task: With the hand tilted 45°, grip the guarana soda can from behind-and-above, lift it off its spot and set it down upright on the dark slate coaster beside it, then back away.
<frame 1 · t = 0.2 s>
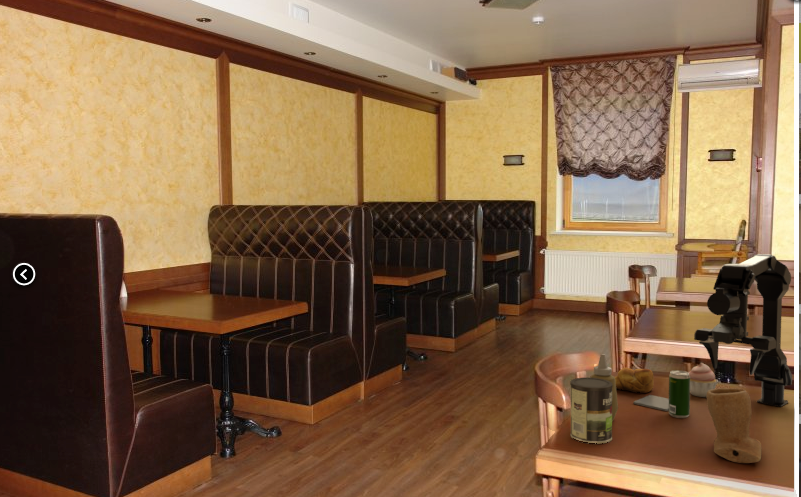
hand: (732, 371, 173), 14 cm above the table, tool pointing down, fingers open, 9 cm apart
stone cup: (732, 453, 155), on the table
cupcake: (701, 395, 201), on the table
coaster: (657, 403, 193), on the table
coffee can: (591, 437, 167), on the table
bread roll: (633, 390, 208), on the table
guarana soda can: (679, 416, 182), on the table
squeeze bottle: (602, 420, 180), on the table
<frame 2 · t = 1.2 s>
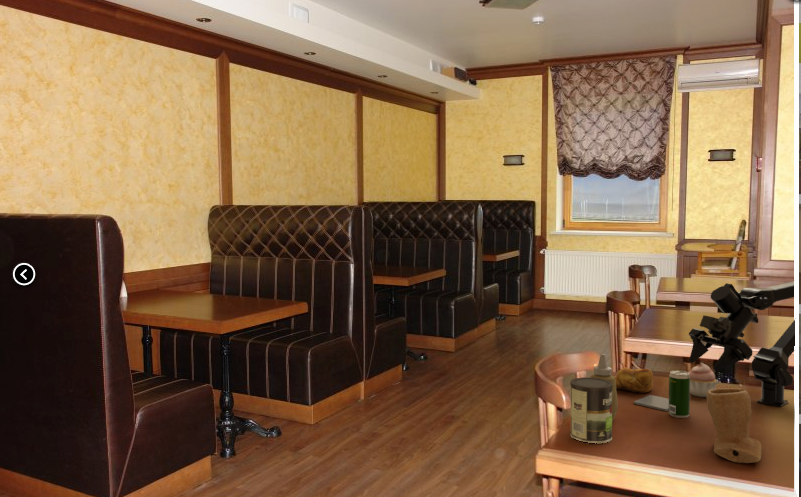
hand: (702, 365, 184), 13 cm above the table, tool tilted 45°, fingers open, 9 cm apart
nothing on the table moved.
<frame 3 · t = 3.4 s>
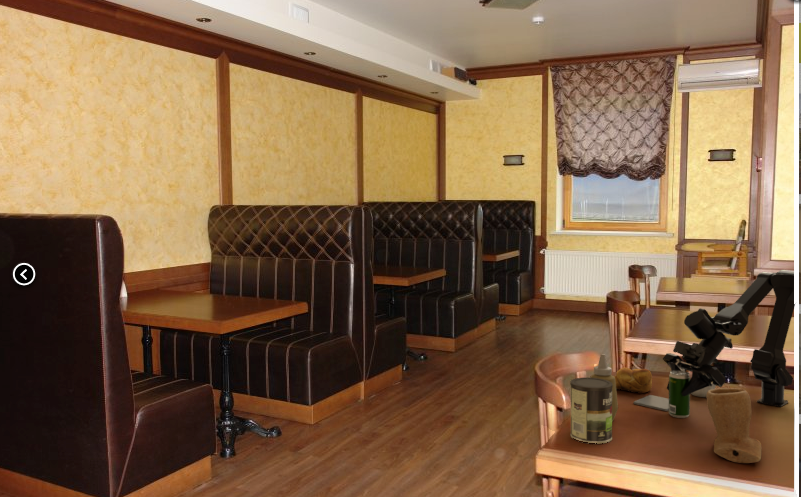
hand: (675, 392, 181), 7 cm above the table, tool tilted 45°, fingers closed on guarana soda can, 5 cm apart
guarana soda can: (679, 416, 182), on the table, touching gripper
everything else where it was.
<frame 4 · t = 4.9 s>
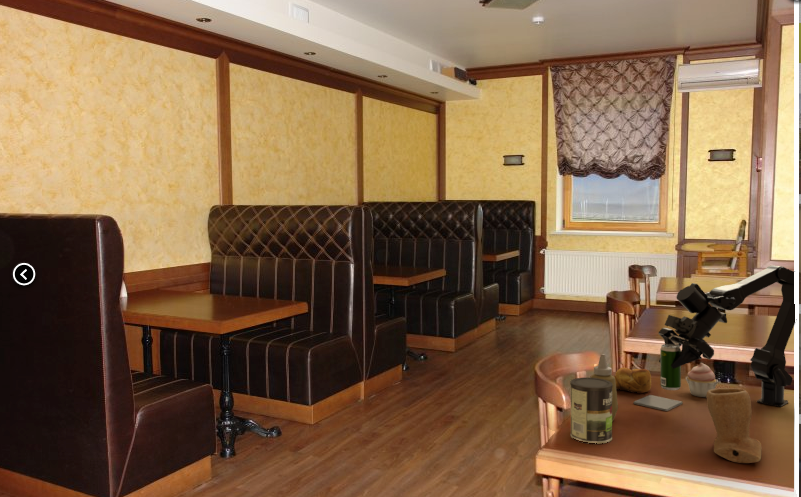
hand: (666, 365, 185), 13 cm above the table, tool tilted 45°, fingers closed on guarana soda can, 5 cm apart
guarana soda can: (670, 388, 186), point 6 cm above the table, touching gripper
everything else where it was.
when the fingers open (8 cm above the table, at t = 6.6 s): guarana soda can stays where it is, resting on coaster.
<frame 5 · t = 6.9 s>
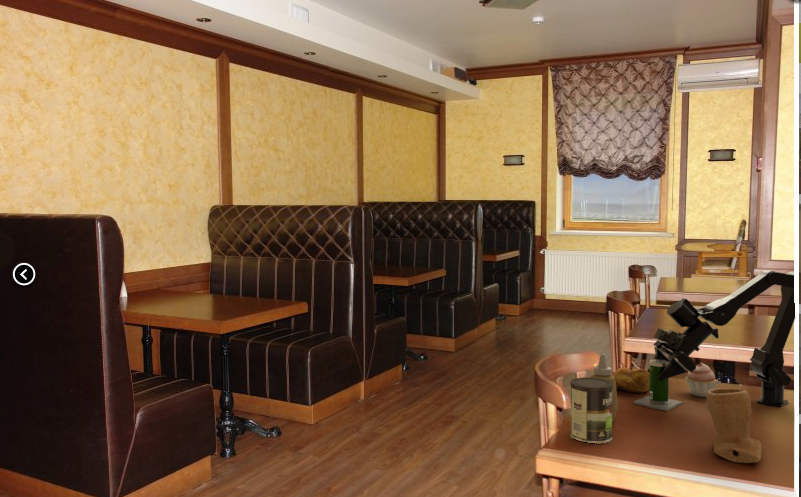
hand: (653, 375, 192), 8 cm above the table, tool tilted 45°, fingers open, 8 cm apart
guarana soda can: (658, 402, 193), resting on coaster
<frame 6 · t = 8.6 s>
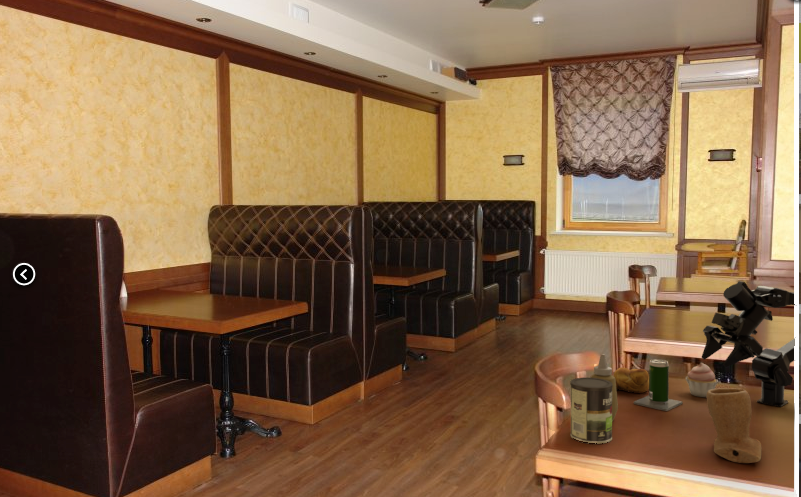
hand: (713, 362, 187), 13 cm above the table, tool tilted 45°, fingers open, 9 cm apart
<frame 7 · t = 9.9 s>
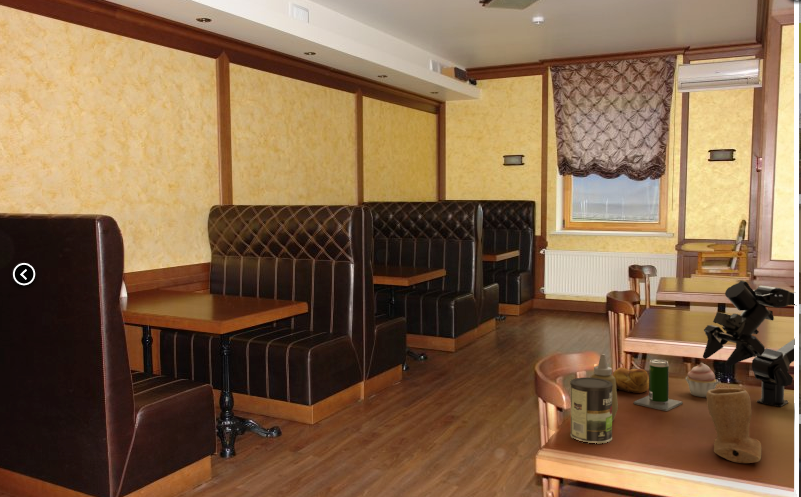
hand: (714, 361, 187), 14 cm above the table, tool tilted 45°, fingers open, 9 cm apart
at the end: guarana soda can inside the target area on the coaster (0.1 cm from its centre), point 0.4 cm above the coaster's base; guarana soda can tilted 0°; the gripper is holding nothing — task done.
